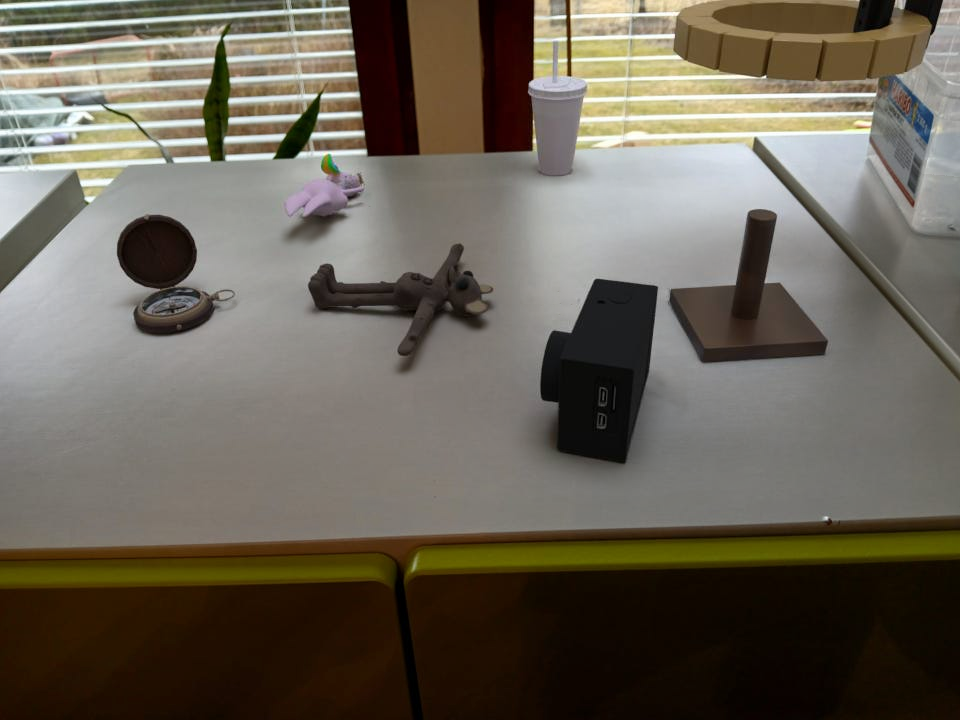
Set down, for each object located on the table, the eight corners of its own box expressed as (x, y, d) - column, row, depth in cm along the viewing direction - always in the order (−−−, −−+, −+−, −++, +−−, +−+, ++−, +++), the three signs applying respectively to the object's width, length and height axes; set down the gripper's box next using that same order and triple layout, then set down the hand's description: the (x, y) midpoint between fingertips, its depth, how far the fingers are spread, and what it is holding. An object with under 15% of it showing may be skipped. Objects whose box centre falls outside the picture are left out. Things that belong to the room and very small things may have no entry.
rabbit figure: (325, 197, 89) (267, 231, 75) (321, 143, 86) (260, 168, 73) (379, 200, 88) (329, 235, 74) (376, 145, 85) (324, 171, 72)
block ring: (854, 25, 65) (861, -7, 64) (971, 75, 51) (983, 36, 50) (651, 32, 64) (654, 0, 63) (713, 85, 50) (719, 46, 49)
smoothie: (516, 172, 90) (515, 42, 82) (549, 156, 94) (552, 31, 86) (562, 184, 87) (566, 49, 79) (594, 167, 91) (601, 38, 83)
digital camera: (573, 360, 57) (577, 273, 54) (649, 371, 56) (658, 283, 52) (537, 448, 49) (539, 353, 45) (625, 464, 48) (634, 368, 44)
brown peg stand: (777, 295, 65) (799, 187, 60) (825, 354, 57) (854, 237, 52) (668, 301, 64) (681, 193, 59) (702, 362, 57) (720, 245, 52)
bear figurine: (349, 223, 72) (507, 217, 68) (359, 266, 74) (512, 262, 70) (266, 324, 57) (461, 323, 54) (281, 374, 59) (470, 375, 56)
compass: (140, 343, 61) (113, 258, 57) (131, 299, 67) (106, 219, 63) (244, 318, 64) (226, 235, 60) (226, 278, 70) (208, 200, 66)
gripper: (1057, -268, 51) (967, 34, 61) (811, -263, 51) (762, 41, 61) (1145, -284, 45) (1029, 55, 55) (865, -278, 44) (800, 64, 55)
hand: (889, 45), depth 58 cm, fingers closed on block ring, 2 cm apart
